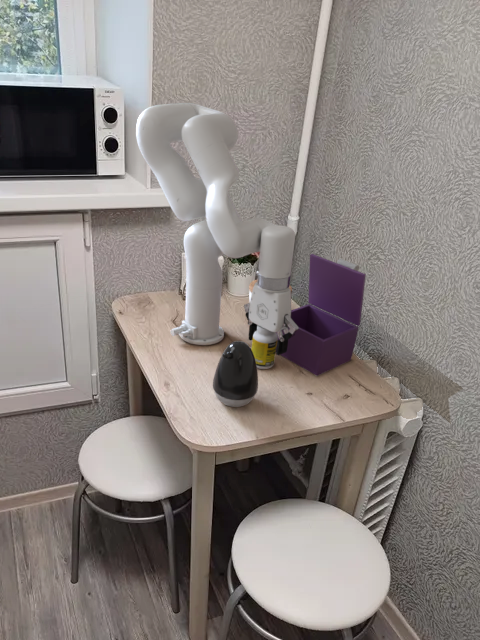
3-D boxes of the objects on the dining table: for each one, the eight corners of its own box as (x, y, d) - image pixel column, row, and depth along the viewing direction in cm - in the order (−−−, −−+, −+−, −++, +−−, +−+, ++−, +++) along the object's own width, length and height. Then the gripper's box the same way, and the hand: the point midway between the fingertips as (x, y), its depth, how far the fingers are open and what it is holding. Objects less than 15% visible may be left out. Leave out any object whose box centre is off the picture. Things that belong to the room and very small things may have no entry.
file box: (317, 376, 131) (324, 341, 125) (269, 349, 141) (274, 316, 136) (351, 360, 138) (358, 327, 132) (303, 335, 148) (309, 303, 143)
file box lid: (363, 275, 123) (379, 266, 125) (309, 254, 133) (325, 246, 136) (358, 326, 132) (372, 316, 134) (308, 303, 143) (322, 294, 145)
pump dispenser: (202, 400, 120) (205, 342, 111) (230, 382, 126) (235, 326, 118) (237, 419, 114) (243, 359, 106) (264, 400, 121) (272, 342, 113)
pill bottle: (267, 372, 131) (272, 333, 125) (245, 365, 134) (249, 326, 128) (277, 362, 135) (283, 324, 129) (256, 355, 138) (260, 317, 132)
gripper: (236, 273, 126) (232, 337, 135) (290, 296, 114) (282, 364, 123) (259, 267, 130) (253, 329, 139) (312, 288, 118) (303, 354, 127)
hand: (267, 345), depth 131 cm, fingers open, 9 cm apart
